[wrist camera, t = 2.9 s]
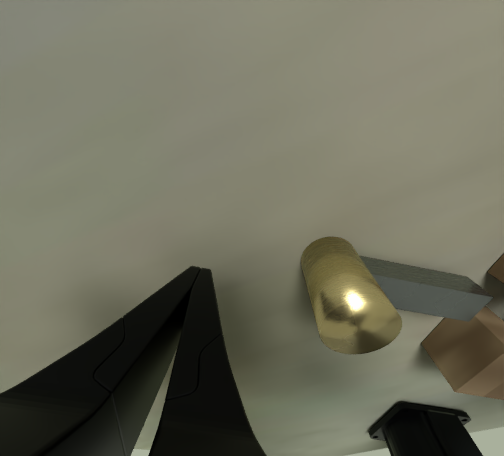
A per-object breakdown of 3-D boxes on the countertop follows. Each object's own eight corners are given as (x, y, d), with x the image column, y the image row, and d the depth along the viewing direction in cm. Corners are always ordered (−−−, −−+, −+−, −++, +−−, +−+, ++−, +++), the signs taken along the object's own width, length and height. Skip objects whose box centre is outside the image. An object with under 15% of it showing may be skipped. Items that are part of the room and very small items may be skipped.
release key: (435, 301, 13) (509, 381, 9) (294, 275, 13) (309, 347, 9) (467, 263, 12) (571, 338, 8) (310, 232, 11) (336, 295, 7)
